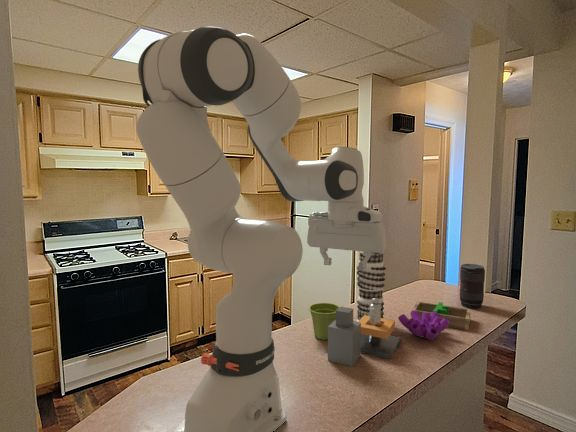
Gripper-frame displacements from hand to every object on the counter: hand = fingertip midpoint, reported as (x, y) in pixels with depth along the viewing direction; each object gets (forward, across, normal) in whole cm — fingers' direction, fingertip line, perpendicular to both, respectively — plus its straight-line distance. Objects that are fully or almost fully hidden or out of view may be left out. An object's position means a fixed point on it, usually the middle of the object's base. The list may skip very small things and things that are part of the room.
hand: (344, 266), depth 93 cm
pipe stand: (+24, +5, +11) cm, 27 cm away
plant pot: (+24, -10, +11) cm, 28 cm away
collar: (+20, +5, +11) cm, 23 cm away
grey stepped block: (+24, 0, 0) cm, 24 cm away
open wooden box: (+24, +19, +40) cm, 51 cm away
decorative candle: (+24, -1, +27) cm, 37 cm away
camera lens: (+24, +27, +60) cm, 70 cm away
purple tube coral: (+24, +16, +26) cm, 39 cm away
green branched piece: (+24, +19, +40) cm, 51 cm away
